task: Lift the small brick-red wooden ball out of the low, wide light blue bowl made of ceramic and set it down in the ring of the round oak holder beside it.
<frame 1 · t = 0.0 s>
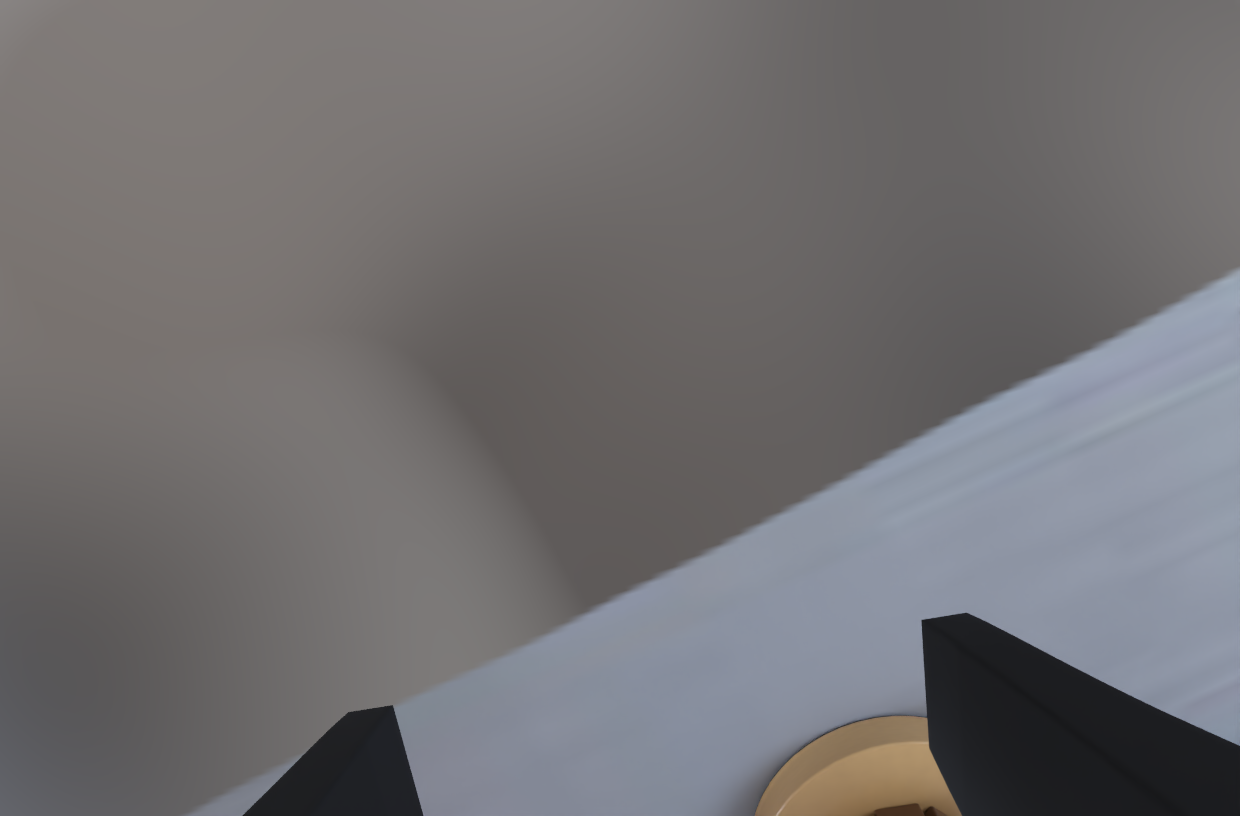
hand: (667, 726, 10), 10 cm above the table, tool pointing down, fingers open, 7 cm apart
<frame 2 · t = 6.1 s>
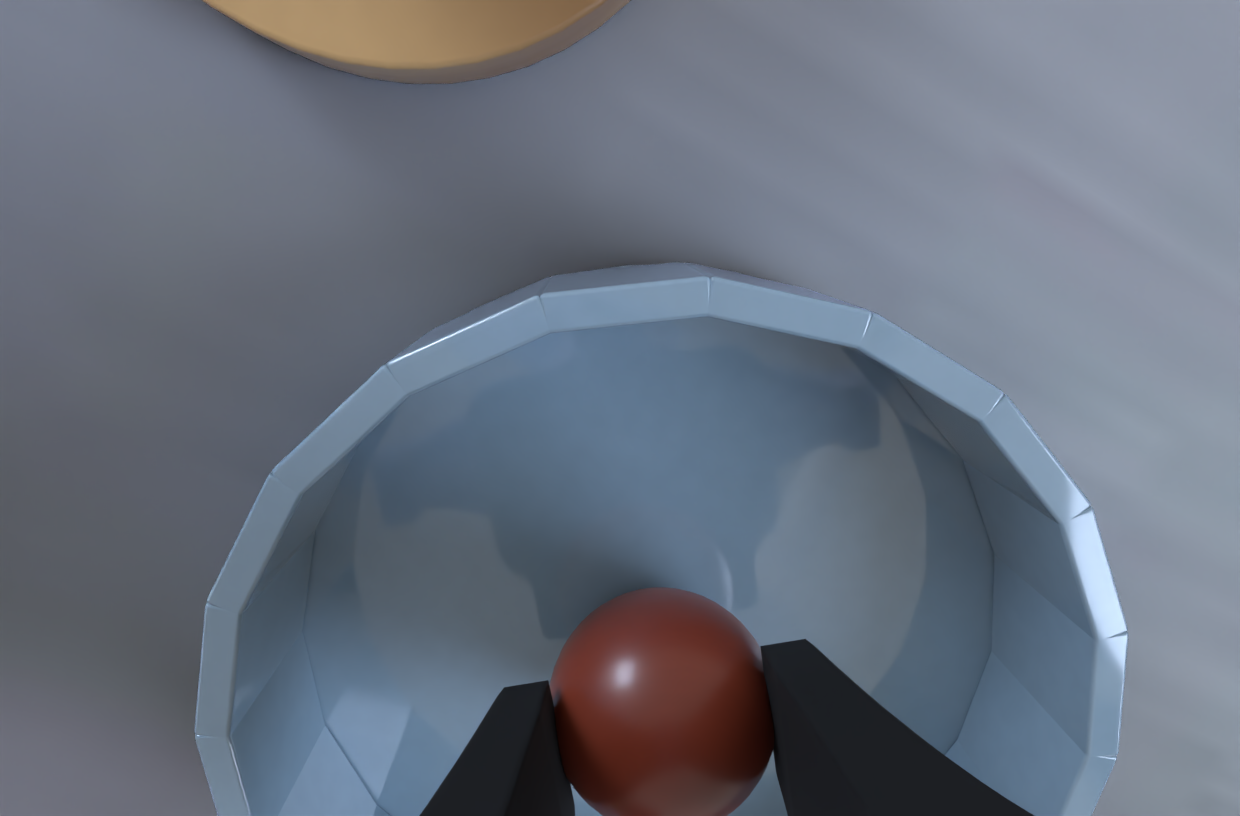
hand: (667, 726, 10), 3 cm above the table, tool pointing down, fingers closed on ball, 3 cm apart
ball: (661, 704, 10), point 2 cm above the table, touching gripper
light blue bowl: (652, 622, 12), on the table
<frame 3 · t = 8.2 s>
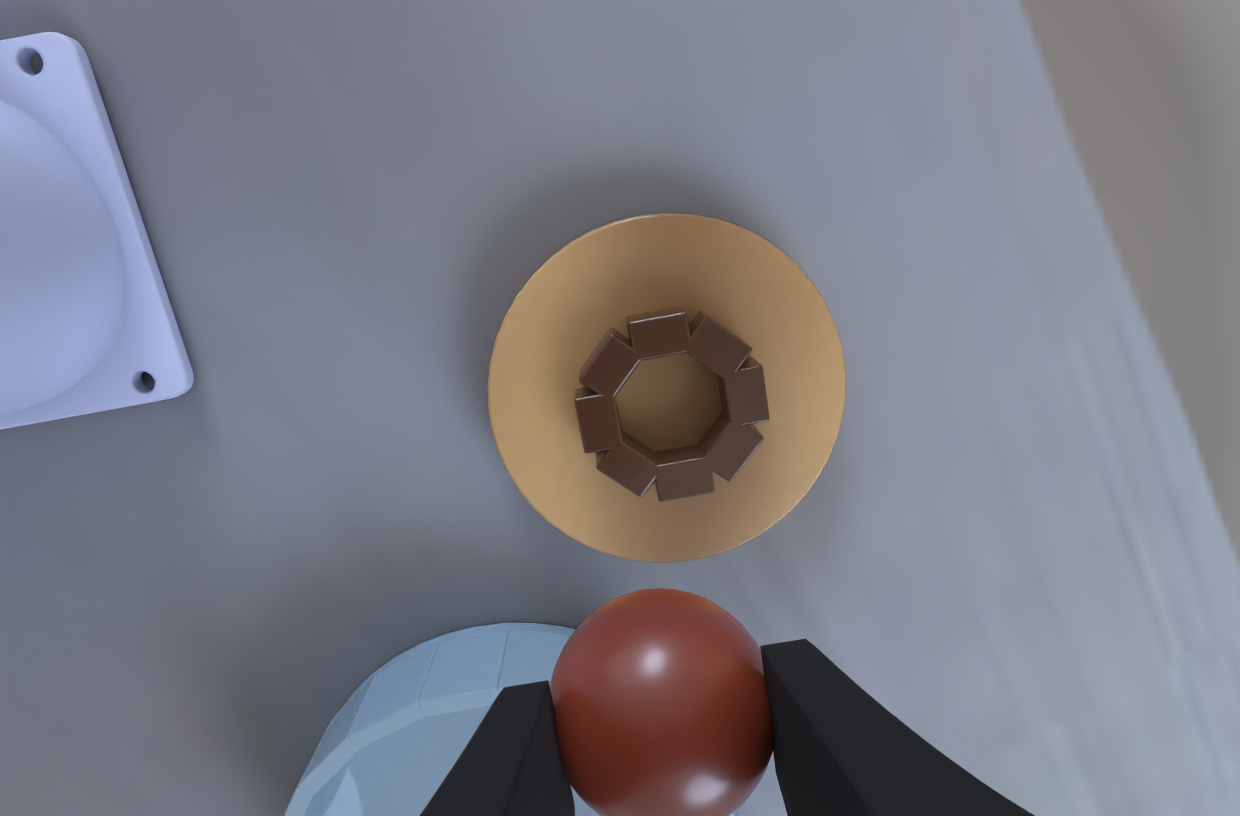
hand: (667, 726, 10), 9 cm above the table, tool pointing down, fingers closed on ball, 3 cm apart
ball: (661, 705, 10), point 9 cm above the table, touching gripper
holder: (663, 387, 18), on the table
light blue bowl: (522, 805, 21), on the table
when the fingers open (4 cm above the table, at t = 10.1 s): ball stays where it is, resting on holder.
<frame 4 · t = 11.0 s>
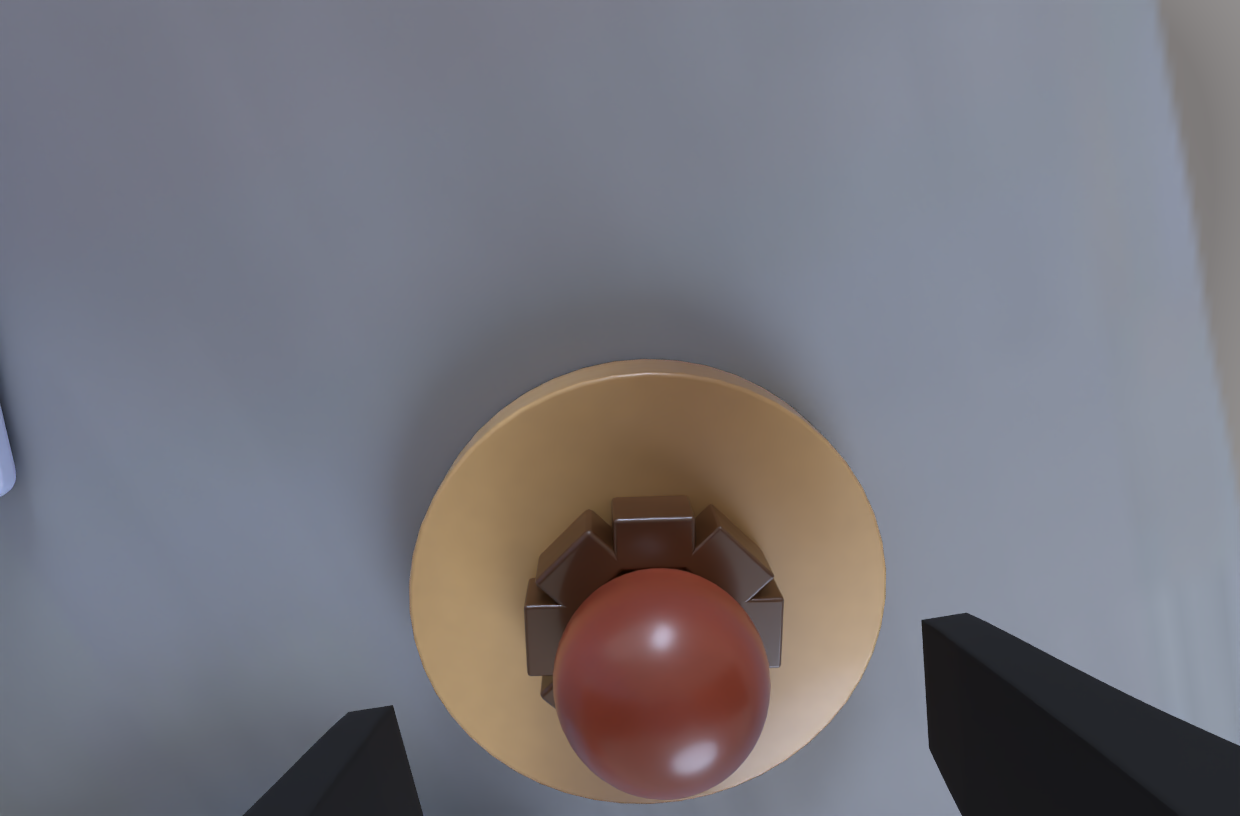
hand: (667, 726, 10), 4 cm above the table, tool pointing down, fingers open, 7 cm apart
ball: (660, 678, 11), point 3 cm above the table, touching holder
holder: (645, 574, 14), on the table
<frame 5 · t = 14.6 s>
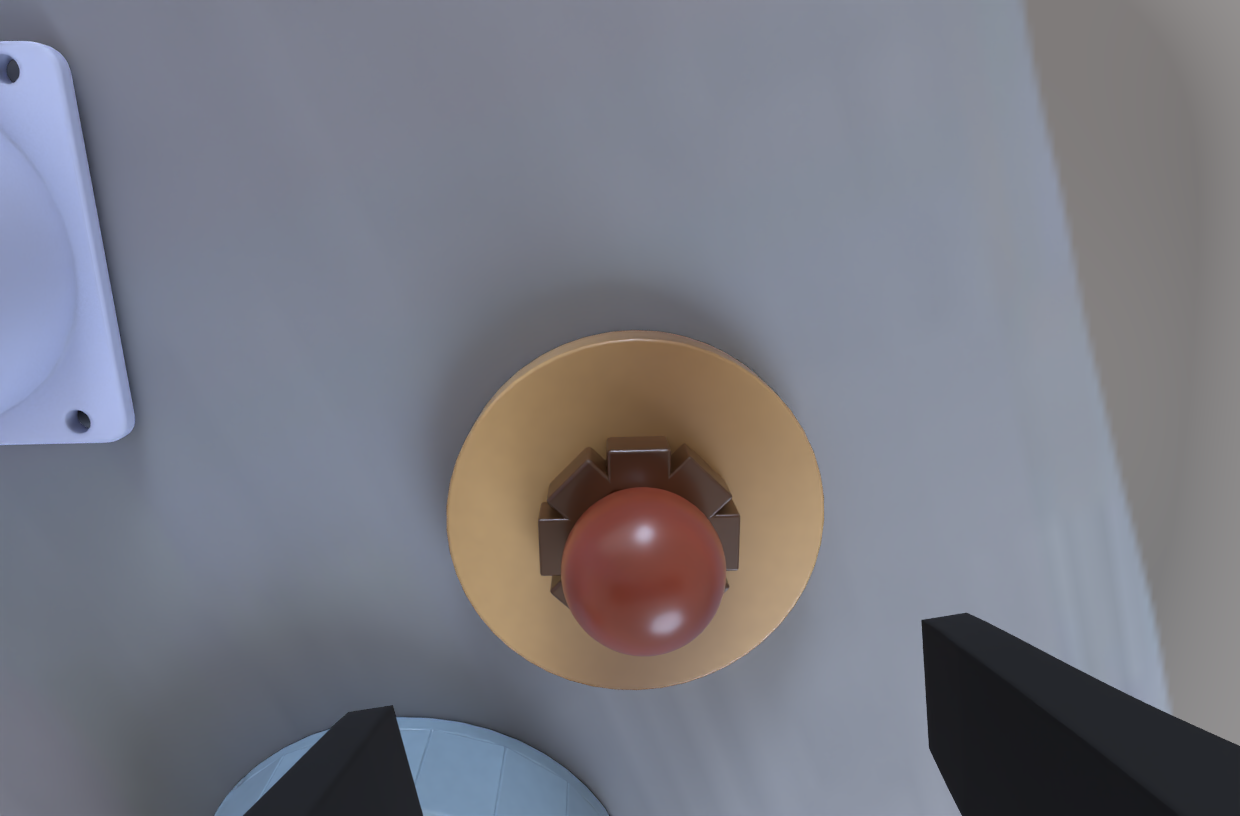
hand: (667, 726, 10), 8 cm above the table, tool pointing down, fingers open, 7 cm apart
ball: (643, 569, 14), point 3 cm above the table, touching holder
holder: (634, 505, 18), on the table
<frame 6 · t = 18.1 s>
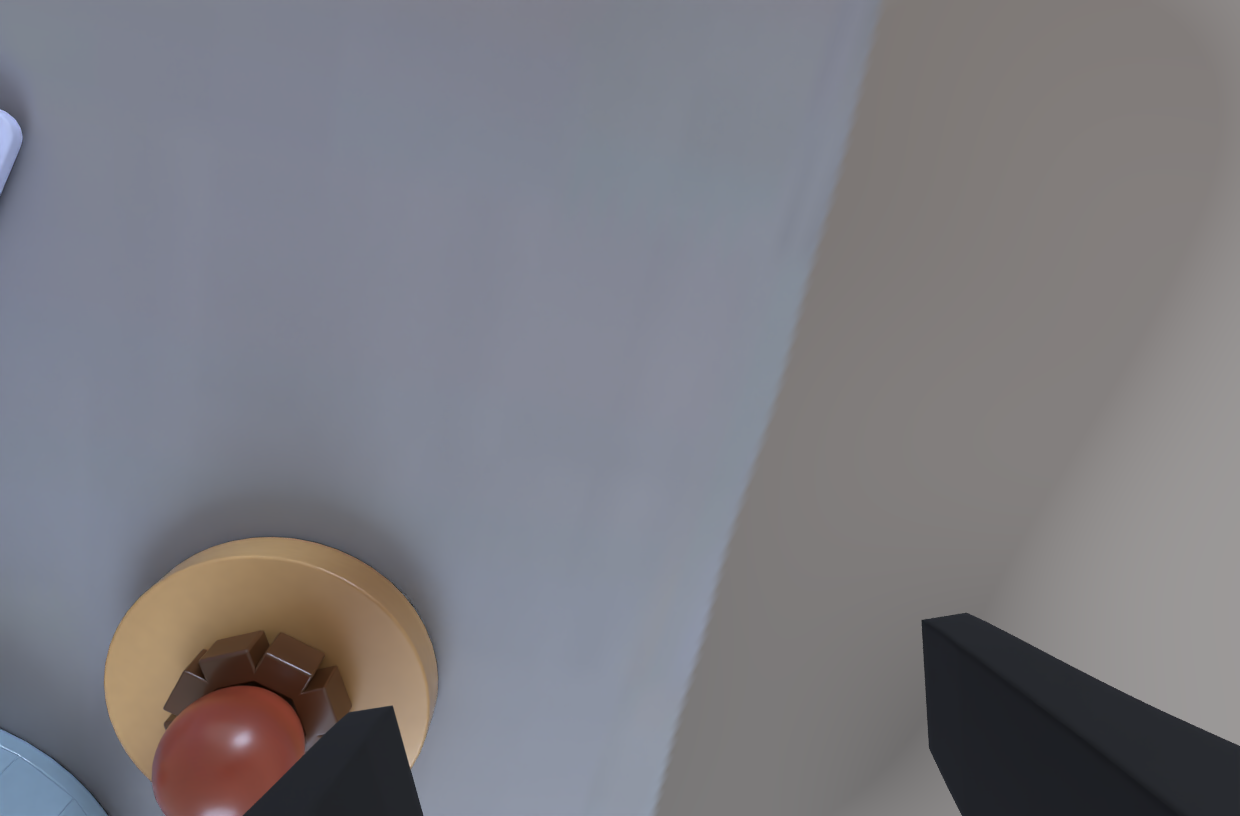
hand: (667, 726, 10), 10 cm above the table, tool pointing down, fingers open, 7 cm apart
ball: (231, 757, 18), point 3 cm above the table, touching holder
holder: (286, 674, 21), on the table
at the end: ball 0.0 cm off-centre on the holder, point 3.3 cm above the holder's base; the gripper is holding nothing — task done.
